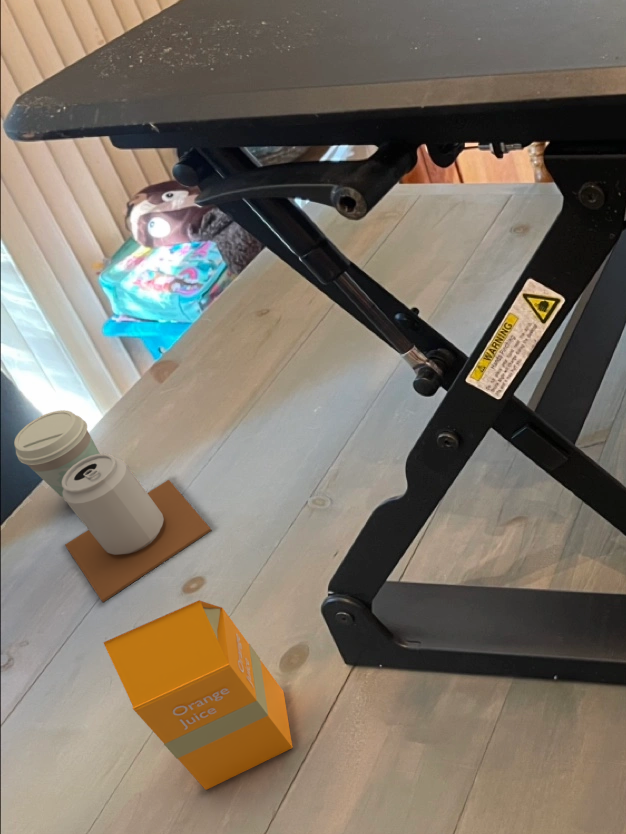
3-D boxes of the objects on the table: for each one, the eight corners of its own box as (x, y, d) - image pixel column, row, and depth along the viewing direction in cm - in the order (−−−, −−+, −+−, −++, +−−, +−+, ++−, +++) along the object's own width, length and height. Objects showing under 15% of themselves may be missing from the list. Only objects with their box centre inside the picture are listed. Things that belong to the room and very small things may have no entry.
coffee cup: (46, 515, 141) (-6, 452, 134) (89, 468, 147) (41, 405, 140) (97, 520, 139) (47, 456, 131) (139, 472, 145) (93, 408, 138)
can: (144, 506, 139) (96, 441, 131) (178, 523, 135) (131, 457, 128) (94, 548, 134) (42, 483, 127) (128, 566, 130) (77, 501, 123)
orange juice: (293, 748, 107) (202, 629, 95) (205, 791, 105) (100, 675, 92) (284, 689, 113) (197, 570, 100) (199, 729, 111) (101, 612, 98)
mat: (103, 602, 127) (101, 600, 127) (66, 546, 136) (64, 544, 135) (211, 530, 134) (210, 528, 134) (170, 481, 142) (168, 479, 142)
